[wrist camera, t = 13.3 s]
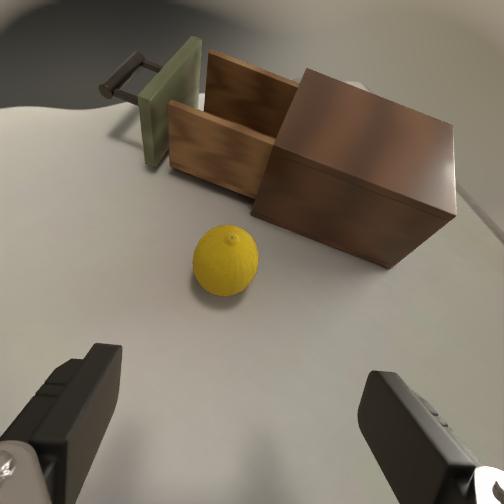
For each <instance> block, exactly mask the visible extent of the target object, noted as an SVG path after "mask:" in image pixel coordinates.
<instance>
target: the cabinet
mask: <svg viewBox="0 0 504 504" xmlns="http://www.w3.org/2000/svg"><path fill="white" fill-rule="evenodd" d="M251 215H252V216H254V217H257V218H260V219H262V220H265V221H267V222H270V223H272V224H275V225H278V226H280V227H283V228H285V229H288V230H291V231H293V232H296V233H298V234H301V235H303V236H306V237H309V238H311V239H314V240H316V241H319V242H321V243H324V244H327V245H329V246H332V247H334V248H337V249H340V250H342V251H345V252H347V253H350V254H352V255H355V256H358V257H360V258H363V259H365V260H368V261H370V262H373V263H376V264H378V265H381V266H383V267H386V268H388V269H391V268H392V267H393V266H395V265H396V264H397V263H398V262H400V261H401V260H402V259H403V258H405V257H406V256H407V255H408V254H410V253H411V252H412V251H413V250H415V249H416V248H417V247H418V246H419V245H421V244H422V243H423V242H424V241H426V240H427V239H428V238H429V237H431V236H432V235H433V234H434V233H436V232H437V231H438V230H439V229H441V228H442V227H443V226H444V225H446V224H447V223H448V222H449V221H451V220H452V219H453V218H455V217H456V192H455V168H454V141H453V125H451V124H448V123H446V122H443V121H441V120H438V119H436V118H433V117H431V116H428V115H425V114H423V113H420V112H418V111H415V110H413V109H410V108H407V107H405V106H403V105H400V104H398V103H395V102H392V101H390V100H387V99H384V98H382V97H380V96H377V95H375V94H372V93H369V92H367V91H364V90H362V89H359V88H357V87H354V86H352V85H349V84H346V83H344V82H341V81H339V80H336V79H334V78H331V77H328V76H326V75H323V74H321V73H318V72H316V71H313V70H311V69H308V68H306V70H305V73H304V75H303V77H302V80H301V82H300V84H299V86H298V89H297V91H296V93H295V96H294V98H293V100H292V103H291V105H290V107H289V109H288V112H287V114H286V116H285V119H284V121H283V123H282V125H281V128H280V130H279V132H278V135H277V137H276V139H275V142H274V144H273V147H272V150H271V153H270V156H269V159H268V162H267V165H266V168H265V171H264V174H263V177H262V181H261V184H260V187H259V190H258V193H257V196H256V199H255V202H254V205H253V208H252V211H251Z"/></svg>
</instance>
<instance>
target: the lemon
mask: <svg viewBox="0 0 504 504" xmlns="http://www.w3.org/2000/svg"><path fill="white" fill-rule="evenodd" d="M258 261H259V257H258V249H257V246H256V244H255V241H254V239H253V238H252V237H251V235H250V234H249V233H247V232H246V231H245V230H243V229H242V228H240V227H237V226H234V225H221V226H217V227H215V228H212V229H211V230H209V231H208V232H207V233H205V235H204V236H203V237H202V238H201V239H200V241H199V242H198V244H197V247H196V249H195V251H194V256H193V269H194V274H195V276H196V278H197V281H198V282H199V283H200V285H201V286H202V287H203V288H204V289H205V290H207V291H208V292H210V293H212V294H214V295H219V296H231V295H234V294H237V293H239V292H241V291H242V290H244V289H245V288H246V287H247V286H248V285H249V284H250V283H251V281H252V280H253V278H254V276H255V274H256V272H257V267H258Z"/></svg>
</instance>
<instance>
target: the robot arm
mask: <svg viewBox="0 0 504 504" xmlns="http://www.w3.org/2000/svg"><path fill="white" fill-rule="evenodd" d="M121 362H122V346H121V345H113V344H102V343H95V344H94V345H93V346H92V348H91V349H90V351H89V352H88V353H87V355H86V356H85V358H84V359H70V360H69V361H67V362H65V363H64V364H62V365H61V366H59V367H57V368H56V369H55V370H54V371H53V372H52V374H51V375H50V376H49V377H48V379H47V380H46V381H45V383H44V385H42V386H41V387H40V389H39V390H38V391H37V392H36V394H35V396H33V397H32V398H31V400H30V401H29V402H28V403H27V405H26V406H25V407H24V408H23V410H22V411H21V412H20V413H19V415H18V416H17V417H16V418H15V420H14V421H13V422H12V423H11V425H10V426H9V427H8V428H7V430H6V431H5V432H4V433H3V435H2V436H1V437H0V504H75V502H76V500H77V498H78V495H79V493H80V491H81V488H82V486H83V484H84V481H85V479H86V476H87V474H88V472H89V469H90V467H91V465H92V462H93V460H94V458H95V455H96V453H97V450H98V448H99V446H100V443H101V441H102V439H103V436H104V434H105V432H106V429H107V427H108V424H109V422H110V420H111V417H112V415H113V413H114V410H115V407H116V403H117V399H118V394H119V385H120V374H121ZM358 424H359V428H360V430H361V432H362V434H363V436H364V438H365V440H366V442H367V444H368V445H369V447H370V449H371V451H372V453H373V455H374V457H375V458H376V460H377V462H378V464H379V466H380V468H381V470H382V472H383V473H384V475H385V477H386V479H387V481H388V483H389V485H390V486H391V488H392V490H393V492H394V494H395V496H396V498H397V500H398V501H399V503H400V504H504V472H503V471H500V470H498V469H495V468H492V467H485V466H484V465H483V464H482V463H481V462H480V461H479V460H478V459H477V458H476V456H475V455H474V454H473V453H472V452H471V451H470V450H469V448H468V447H467V446H466V445H465V444H464V443H463V442H462V441H461V439H460V438H459V437H458V436H457V435H456V434H455V433H454V431H453V430H452V429H451V428H448V425H447V424H446V422H445V421H444V420H443V419H442V418H441V417H439V416H438V413H437V412H436V411H435V410H434V409H433V408H432V407H431V405H430V404H429V403H428V402H427V401H426V400H424V399H423V398H422V397H420V396H419V395H418V394H416V393H415V392H414V391H412V390H411V389H410V388H409V387H408V386H407V385H406V383H405V382H404V381H403V380H402V379H401V378H400V376H399V375H398V374H396V373H394V372H384V371H371V372H370V373H369V375H368V378H367V381H366V385H365V388H364V391H363V395H362V398H361V401H360V405H359V408H358Z"/></svg>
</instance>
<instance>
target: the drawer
mask: <svg viewBox="0 0 504 504" xmlns="http://www.w3.org/2000/svg"><path fill="white" fill-rule="evenodd" d="M201 49H202V40H201V39H199V38H196V37H194V36H192V37H190V39H189V40H188V41H187V42H186V43H185V44H184V45H183V46H182V47H181V48H180V50H179V51H178V52H177V53H176V54H175V55H174V56H173V57H172V58H171V59H170V61H169V62H168V63H167V64H166V65H165V66H164V67H163V66H160V65H158V64H155V63H153V62H150V61H148V60H145V57H144V56H143V55H142V54H141V53H140V52H134V53H133V54H132V55H131V56H130V57H129V58H128V59H127V60H126V61H125V62H123V64H121V65H120V66H119V67H118V68H117V69H116V70H115V71H114V72H113V73H112V74H111V75H110V76H109V77H108V78H107V79H106V80H104V82H102V83H101V84H100V85H99V88H98V89H99V92H100V93H101V95H102V96H103V97H105V98H107V99H112V98H113V97H117V98H119V99H122V100H124V101H127V102H130V103H132V104H135V105H137V106H139V114H140V122H141V131H142V139H143V148H144V157H145V164H147V165H149V166H152V167H154V168H155V167H156V166H157V165H158V163H159V162H160V160H161V159H162V157H163V156H164V155H165V153H166V152H167V150H168V149H169V160H170V161H169V163H170V167H173V168H176V169H178V170H181V171H183V172H186V173H189V174H191V175H194V176H196V177H199V178H201V179H204V180H207V181H209V182H212V183H214V184H217V185H219V186H222V187H225V188H227V189H230V190H232V191H235V192H237V193H240V194H243V195H245V196H248V197H250V198H253V199H256V196H257V193H258V190H259V187H260V184H261V181H262V177H263V174H264V171H265V168H266V165H267V162H268V159H269V156H270V153H271V150H272V147H273V144H274V142H275V139H276V137H277V135H278V132H279V130H280V128H281V125H282V123H283V121H284V119H285V116H286V114H287V112H288V109H289V107H290V105H291V103H292V100H293V98H294V96H295V93H296V91H297V89H298V86H299V83H297V82H294V81H291V80H289V79H286V78H284V77H281V76H279V75H276V74H274V73H271V72H268V71H266V70H263V69H261V68H258V67H255V66H253V65H250V64H248V63H245V62H243V61H240V60H237V59H235V58H232V57H230V56H227V55H225V54H222V53H220V52H217V51H215V50H210V52H209V54H208V66H207V78H206V91H205V103H204V111H200V110H198V109H197V108H198V97H199V81H200V65H201ZM142 67H144V68H147V69H149V70H152V71H154V72H157V73H158V74H157V75H156V76H155V77H154V78H153V79H152V80H151V82H149V84H148V85H147V86H146V87H145V88H144V89H143V90H142V91H141V92H140V94H139V95H138V97H137V96H134V95H132V94H129V93H127V92H124V91H121V89H122V87H124V86H125V85H126V83H128V81H129V80H130V79H131V78H132V77H133V76H134V75H135V74H136V73H137V72H138V71H139V70H140V69H141V68H142Z"/></svg>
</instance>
